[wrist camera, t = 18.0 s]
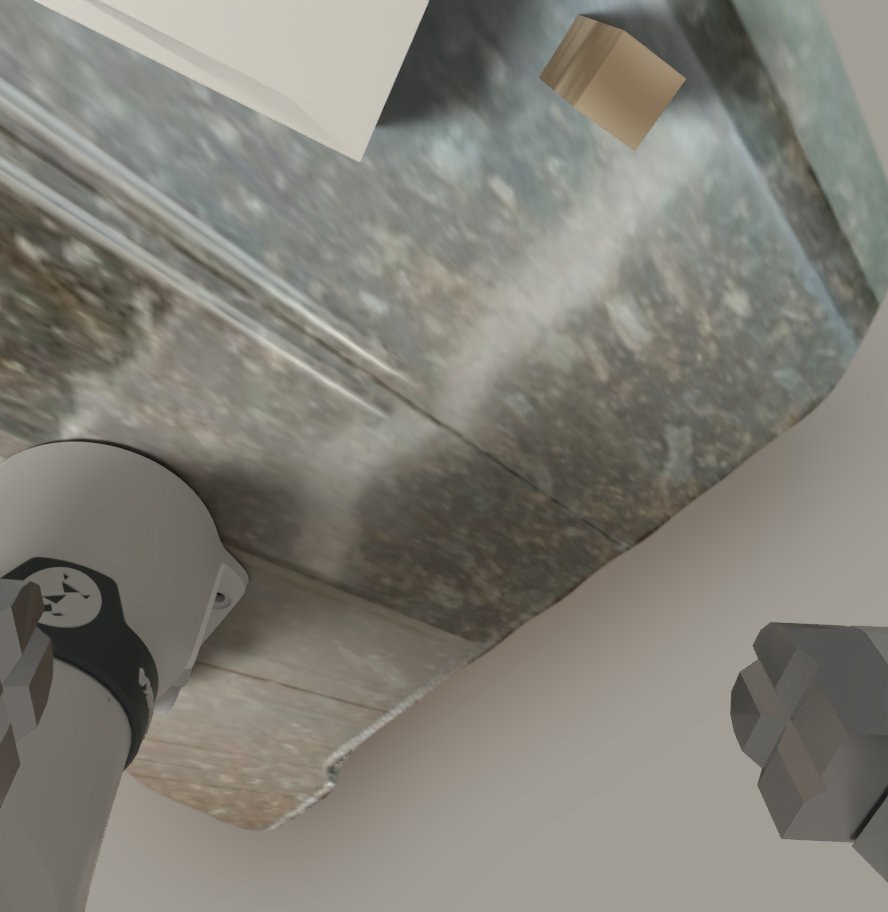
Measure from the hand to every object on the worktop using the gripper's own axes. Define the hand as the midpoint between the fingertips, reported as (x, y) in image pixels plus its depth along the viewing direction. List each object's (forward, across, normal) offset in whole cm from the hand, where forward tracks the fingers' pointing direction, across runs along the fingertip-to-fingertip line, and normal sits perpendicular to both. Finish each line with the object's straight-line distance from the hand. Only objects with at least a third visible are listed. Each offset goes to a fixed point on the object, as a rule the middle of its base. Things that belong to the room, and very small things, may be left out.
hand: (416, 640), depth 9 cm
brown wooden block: (+33, -8, -3) cm, 34 cm away
